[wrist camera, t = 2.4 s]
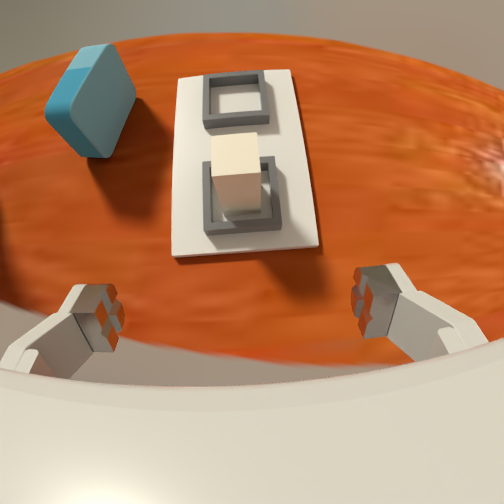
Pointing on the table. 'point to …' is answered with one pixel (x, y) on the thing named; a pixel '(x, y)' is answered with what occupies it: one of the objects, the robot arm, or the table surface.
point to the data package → (92, 101)
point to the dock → (271, 164)
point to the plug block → (237, 173)
